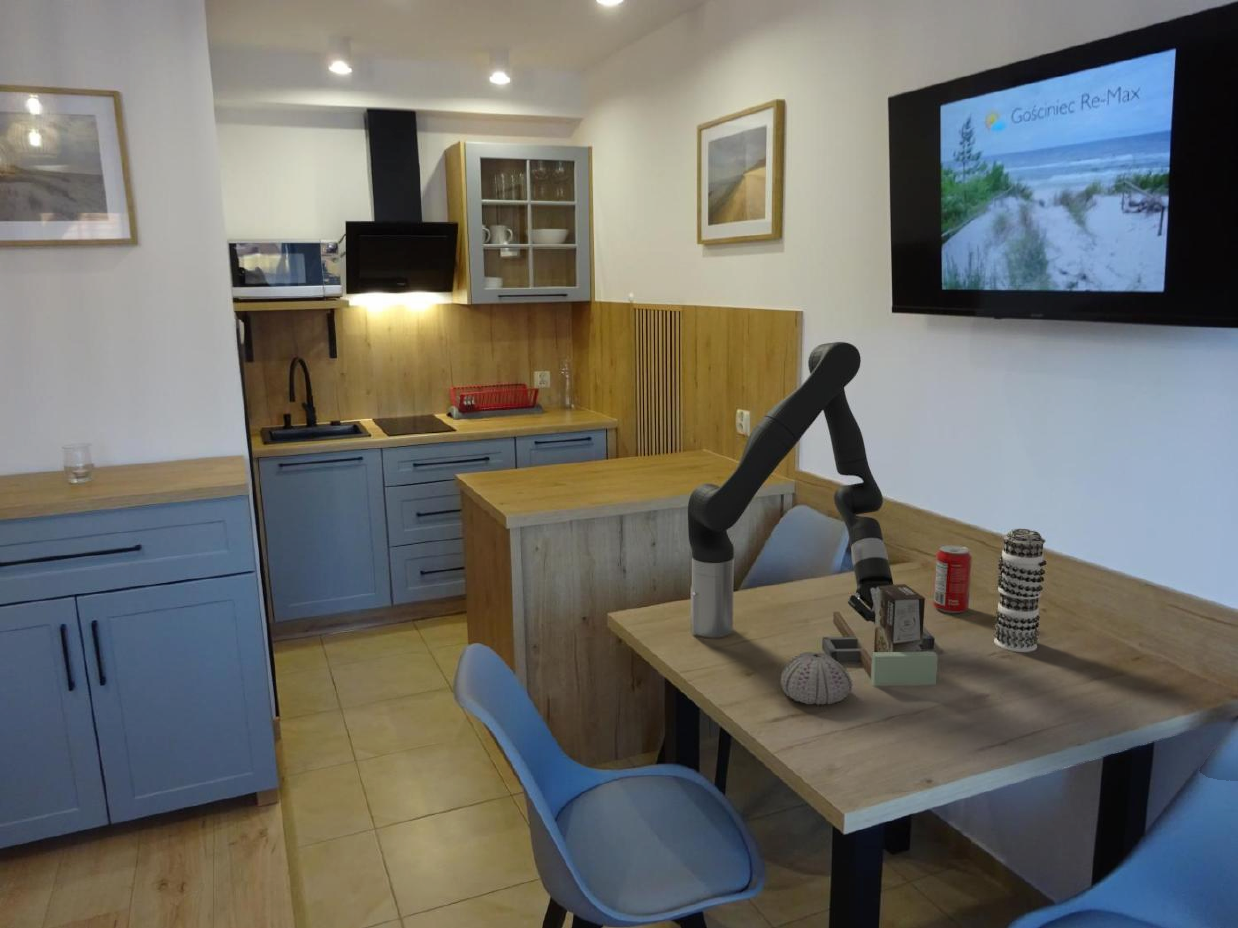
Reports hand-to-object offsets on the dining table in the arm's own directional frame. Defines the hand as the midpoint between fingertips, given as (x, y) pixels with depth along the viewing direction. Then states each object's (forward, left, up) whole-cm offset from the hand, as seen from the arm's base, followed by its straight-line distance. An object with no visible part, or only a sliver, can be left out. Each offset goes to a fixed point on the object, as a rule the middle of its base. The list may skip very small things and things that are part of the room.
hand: (885, 638), depth 183 cm
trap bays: (0, +4, -4) cm, 6 cm away
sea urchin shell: (-18, -16, -4) cm, 25 cm away
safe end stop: (0, -12, -4) cm, 13 cm away
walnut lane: (0, +4, -4) cm, 6 cm away
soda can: (+24, +27, -4) cm, 36 cm away
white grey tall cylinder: (+30, +6, -4) cm, 31 cm away
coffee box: (+1, -5, -4) cm, 7 cm away
